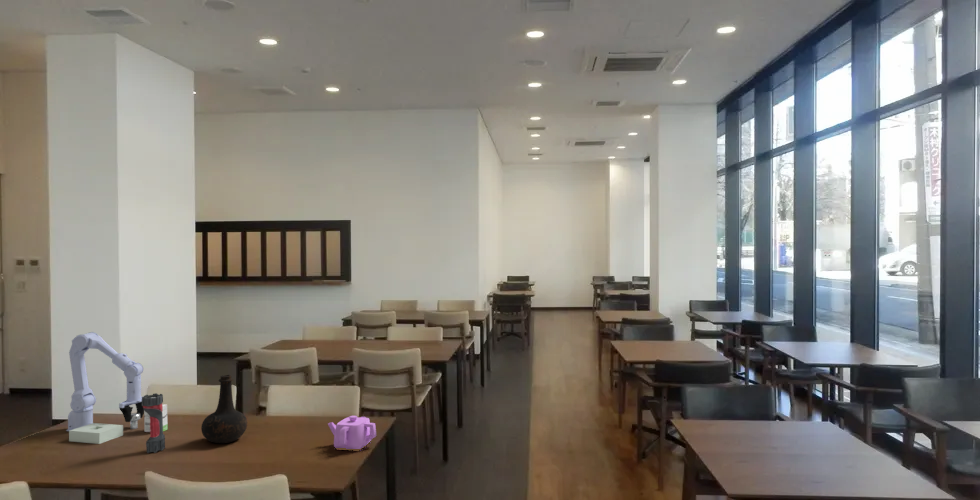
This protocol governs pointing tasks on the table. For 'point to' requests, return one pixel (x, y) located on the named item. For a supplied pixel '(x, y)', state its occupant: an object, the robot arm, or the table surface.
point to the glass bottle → (224, 417)
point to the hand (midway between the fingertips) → (134, 419)
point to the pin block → (96, 433)
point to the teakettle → (353, 432)
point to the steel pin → (134, 420)
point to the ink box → (147, 419)
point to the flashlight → (154, 422)
